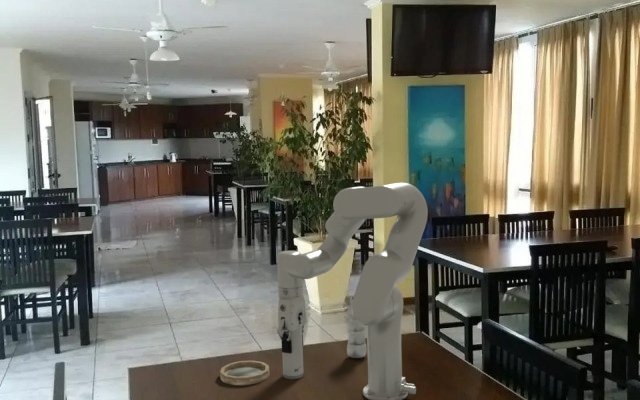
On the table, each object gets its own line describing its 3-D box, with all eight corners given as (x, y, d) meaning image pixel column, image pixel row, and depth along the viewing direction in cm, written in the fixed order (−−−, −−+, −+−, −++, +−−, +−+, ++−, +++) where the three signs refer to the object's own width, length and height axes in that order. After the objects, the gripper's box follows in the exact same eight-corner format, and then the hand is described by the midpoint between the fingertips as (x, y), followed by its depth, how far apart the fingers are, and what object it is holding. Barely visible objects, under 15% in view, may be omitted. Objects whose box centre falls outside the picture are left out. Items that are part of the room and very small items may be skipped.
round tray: (278, 371, 195) (278, 364, 195) (251, 388, 182) (251, 380, 181) (239, 365, 202) (238, 358, 202) (210, 380, 188) (210, 373, 188)
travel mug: (301, 380, 187) (299, 315, 185) (280, 379, 188) (278, 314, 186) (306, 372, 193) (304, 309, 191) (286, 371, 194) (283, 309, 192)
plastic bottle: (343, 356, 207) (341, 297, 205) (361, 352, 210) (359, 294, 208) (352, 361, 201) (350, 301, 200) (370, 358, 204) (369, 298, 202)
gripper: (286, 299, 179) (289, 359, 180) (314, 286, 194) (316, 342, 196) (264, 297, 182) (267, 356, 184) (294, 284, 198) (296, 339, 199)
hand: (292, 348), depth 190 cm, fingers closed on travel mug, 6 cm apart
